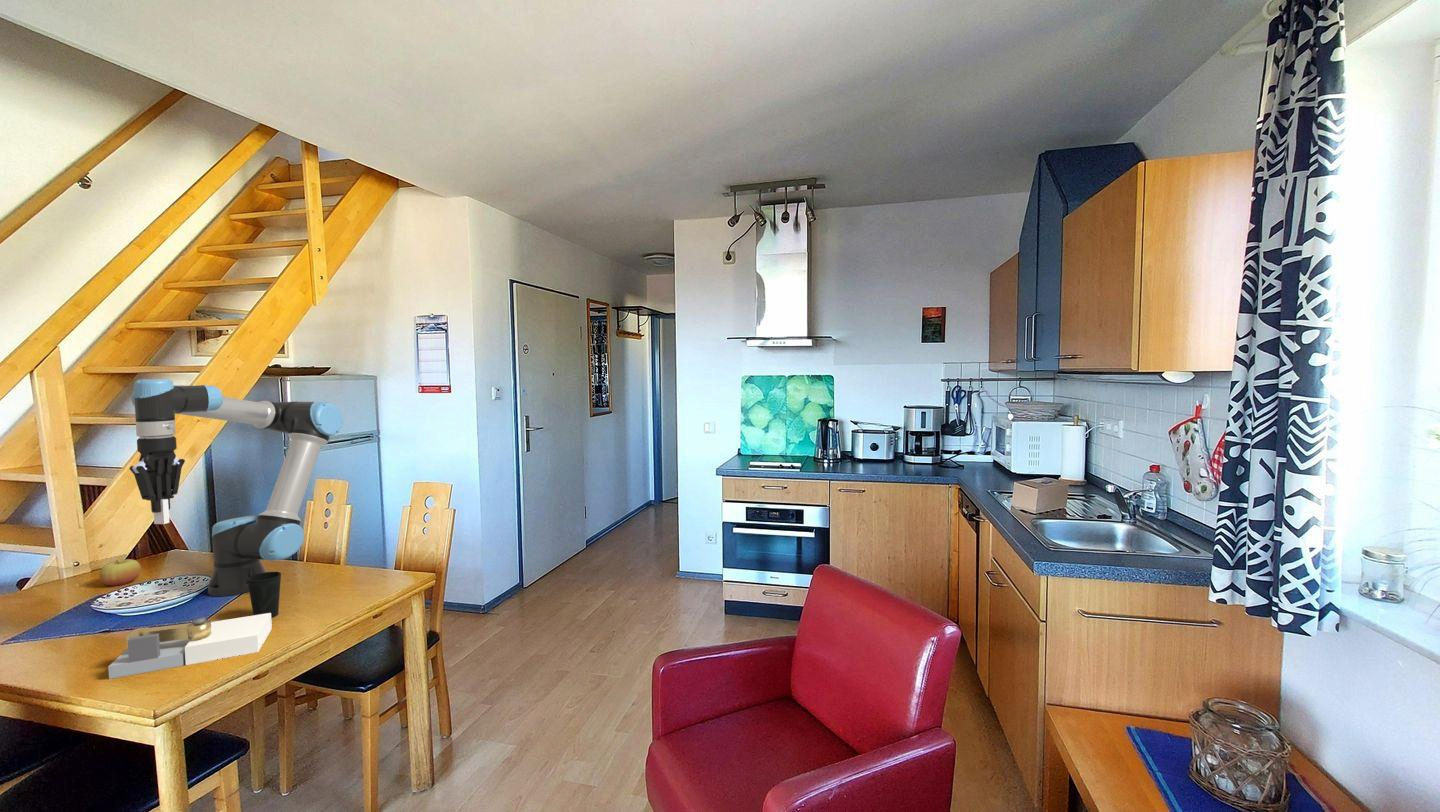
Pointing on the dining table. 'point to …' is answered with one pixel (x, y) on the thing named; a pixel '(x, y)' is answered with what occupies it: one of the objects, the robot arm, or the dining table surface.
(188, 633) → the bar
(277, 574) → the cup
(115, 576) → the apple
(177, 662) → the doorframe
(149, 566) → the dining table surface
